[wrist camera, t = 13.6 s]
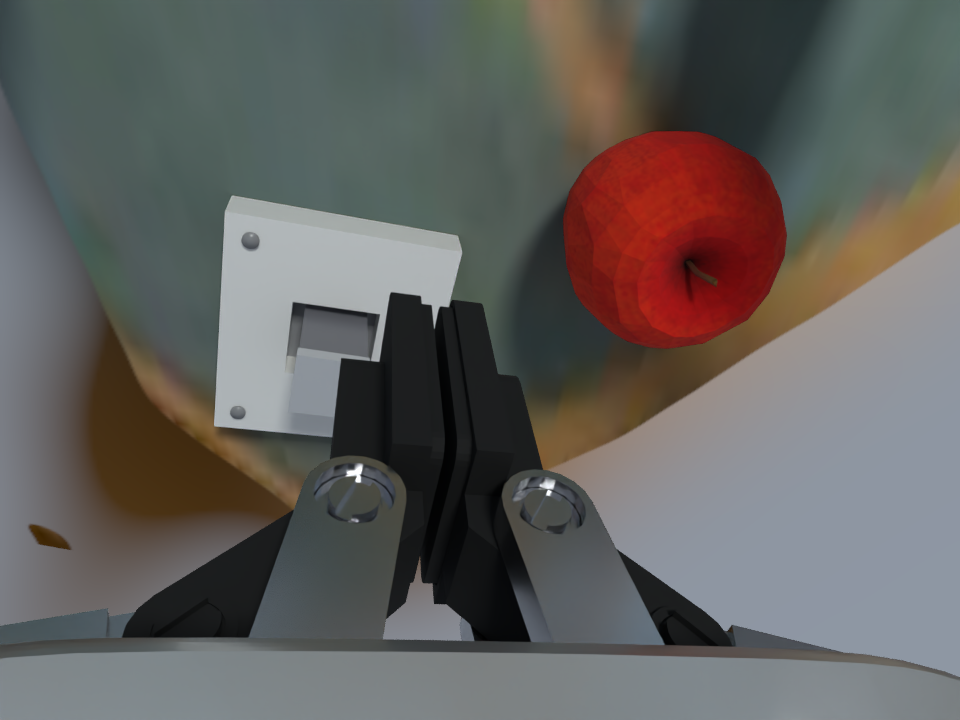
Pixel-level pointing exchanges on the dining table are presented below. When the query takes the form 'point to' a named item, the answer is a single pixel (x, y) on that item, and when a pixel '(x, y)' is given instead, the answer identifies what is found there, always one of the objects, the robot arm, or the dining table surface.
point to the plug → (325, 356)
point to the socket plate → (309, 297)
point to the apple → (673, 237)
